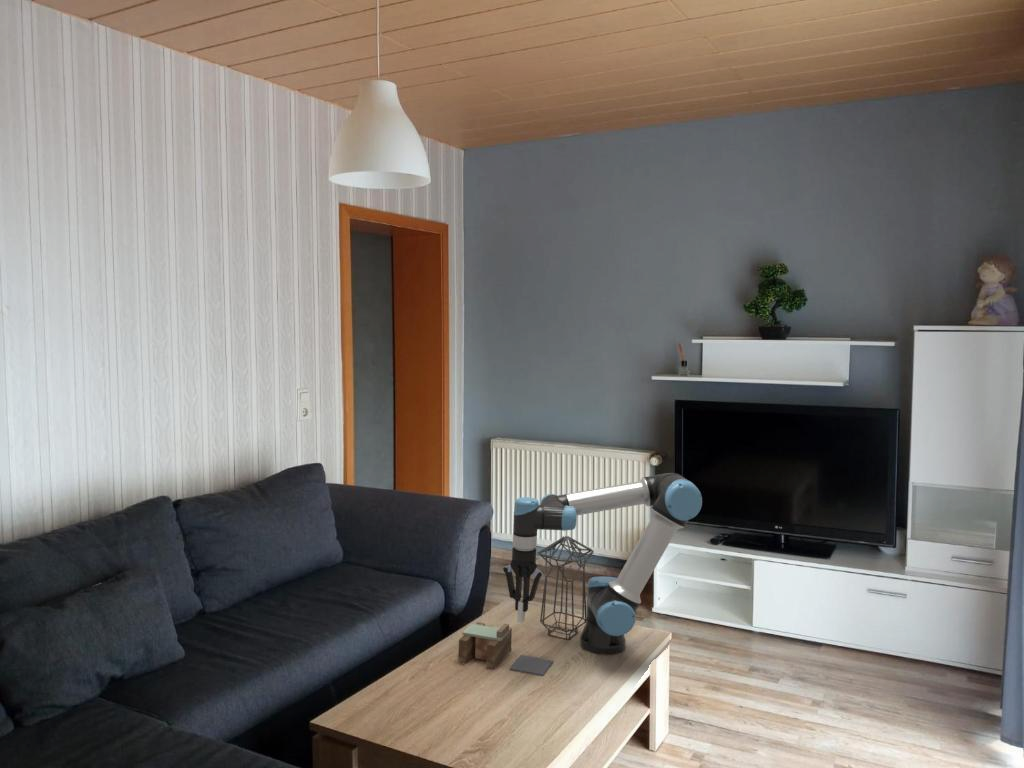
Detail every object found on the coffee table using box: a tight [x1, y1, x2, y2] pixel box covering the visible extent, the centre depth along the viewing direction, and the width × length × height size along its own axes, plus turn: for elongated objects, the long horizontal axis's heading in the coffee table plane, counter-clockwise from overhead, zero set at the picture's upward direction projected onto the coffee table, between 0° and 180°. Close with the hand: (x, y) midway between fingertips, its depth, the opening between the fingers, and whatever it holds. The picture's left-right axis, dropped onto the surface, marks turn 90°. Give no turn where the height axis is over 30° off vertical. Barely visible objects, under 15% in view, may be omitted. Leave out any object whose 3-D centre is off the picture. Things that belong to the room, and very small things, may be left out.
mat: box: [508, 654, 554, 677], centre depth 257 cm, size 11×11×1 cm
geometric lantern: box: [536, 535, 595, 640], centre depth 282 cm, size 16×16×35 cm
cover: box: [462, 623, 510, 641], centre depth 263 cm, size 13×8×3 cm, turn 71°
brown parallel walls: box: [457, 621, 513, 670], centre depth 263 cm, size 12×16×8 cm
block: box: [474, 637, 491, 661], centre depth 263 cm, size 5×5×7 cm
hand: (520, 620), depth 258 cm, fingers closed
